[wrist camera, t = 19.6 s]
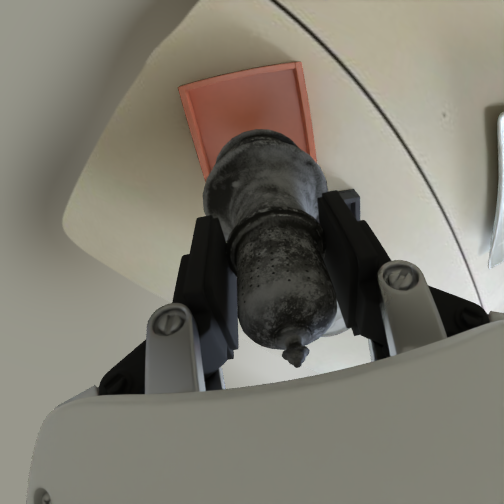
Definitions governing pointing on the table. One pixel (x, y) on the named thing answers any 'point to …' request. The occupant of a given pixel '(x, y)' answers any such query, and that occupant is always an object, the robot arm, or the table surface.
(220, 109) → the shaker tray
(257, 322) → the grey chess piece
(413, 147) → the table surface
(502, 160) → the square plate
